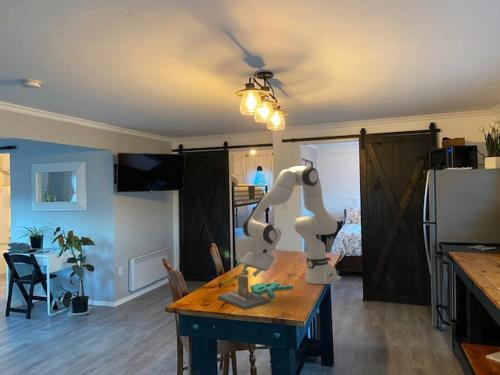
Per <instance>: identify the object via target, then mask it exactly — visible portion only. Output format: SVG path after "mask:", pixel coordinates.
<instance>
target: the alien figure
mask: <svg viewBox="0 0 500 375" xmlns="http://www.w3.org/2000/svg"><path fill="white" fill-rule="evenodd" d="M282 289H283V291H286V290H290V289H292V290H293V289H294V285H292V284H289V285H281V283H280V282H275V281H274V282H266V283H264V282H263V283H255V284H252V285H250V292H252V293H255V294H258V295H261V296H262V295H264V294H267V296H268V298H269V299H273V298H275V297H276V294H275V293H274V291H282Z"/></svg>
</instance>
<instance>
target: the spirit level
mask: <svg viewBox="0 0 500 375" xmlns="http://www.w3.org/2000/svg"><path fill="white" fill-rule="evenodd" d="M241 274H242V275H245V276H248V275H249V269H246V273H242V272H239V273H238V274H236V275H234V276H231V277H230V278H227V279H225V280H223V281H221V282H219V283H218V288H222V287H225V286H227V285H230V284H231V283H234V282H235V281H238V275H241Z"/></svg>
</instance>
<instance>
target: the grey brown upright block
mask: <svg viewBox="0 0 500 375" xmlns="http://www.w3.org/2000/svg"><path fill="white" fill-rule="evenodd" d="M237 275H238V274H237ZM248 277H249V276H248V275H246V276H245V275H242V274H241V275H238V279H237V290H238V296H241V297H243V298H250V297H251V295H249V293H248V291H249V278H248Z"/></svg>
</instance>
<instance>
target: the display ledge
mask: <svg viewBox="0 0 500 375" xmlns="http://www.w3.org/2000/svg"><path fill="white" fill-rule="evenodd" d="M248 293H249V295H251V297H250V298H243V297H241V296H238V289H237V290H233V291H229V292H225V293H222V294H219V295H217V299H219V300H221V301H224V302H225V303H228V304H231V305H234V306H236V307H238V308H240V309H243V310H248V309H251V308H254V307H258V306H261V305H265V304H268V303H271V298H269V297H267V296H263V295H262V294H261V295H258V294H255V293H252V291H249V290H248Z"/></svg>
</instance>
